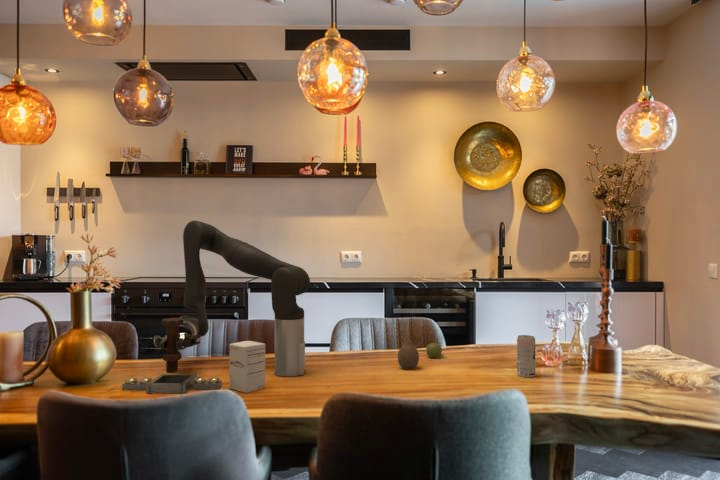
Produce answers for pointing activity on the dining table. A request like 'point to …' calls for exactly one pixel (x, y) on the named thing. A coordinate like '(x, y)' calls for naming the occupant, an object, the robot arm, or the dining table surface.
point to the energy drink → (526, 356)
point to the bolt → (172, 343)
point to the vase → (408, 356)
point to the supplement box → (247, 366)
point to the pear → (434, 350)
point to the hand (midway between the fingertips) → (170, 346)
